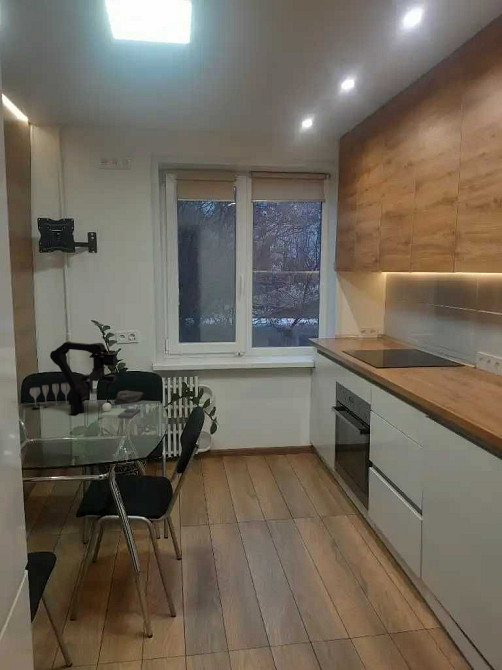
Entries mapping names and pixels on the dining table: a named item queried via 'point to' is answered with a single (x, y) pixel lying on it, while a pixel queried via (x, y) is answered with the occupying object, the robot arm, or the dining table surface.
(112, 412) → the panel
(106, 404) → the ball
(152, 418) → the dining table surface
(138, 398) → the stone
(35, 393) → the goblet set
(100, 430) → the dining table surface
